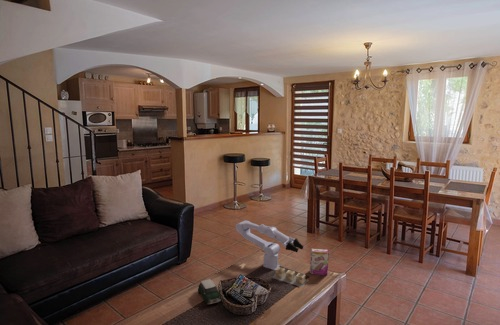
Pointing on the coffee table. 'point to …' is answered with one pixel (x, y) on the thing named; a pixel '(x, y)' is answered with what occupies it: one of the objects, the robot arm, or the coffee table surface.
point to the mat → (290, 281)
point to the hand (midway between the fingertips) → (300, 249)
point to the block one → (280, 272)
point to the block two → (300, 278)
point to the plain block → (290, 275)
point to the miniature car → (209, 292)
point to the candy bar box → (319, 261)
